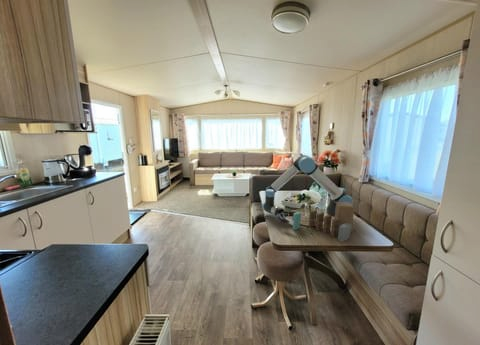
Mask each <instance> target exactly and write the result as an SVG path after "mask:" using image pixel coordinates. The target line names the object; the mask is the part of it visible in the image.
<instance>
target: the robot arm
mask: <svg viewBox="0 0 480 345" xmlns="http://www.w3.org/2000/svg"><path fill="white" fill-rule="evenodd" d="M319 166H320V165H318V163H317V162H315V159H313V158H312V157H310V156H308V155H306V154H305V155H300V156H299V157H297V158H296V159H295V160H294V161H293V162H292V163H291V165H290V167H289V168H288V169H287V170H286V171H285V172H283V173H282V174H281V175H280V176H279V177H278V178H277V179H276V180H275V181H274V182H273V183H271V185H270V186H267V187H266V188H265V190H264V195H265V198H264V200H265V202H263V203H262V206H261V207H262V210H264V211H265V212H266V213H269V214H271V215H273V216H276V218H277V219H278V220H279V221H280V222H281V223H285V224H286V223H287V224H290V225H292V226H293V219H292V220H291V219H289V218H290V217H293V214H294V213H297V212H298V211H292V210H287V211H285V209H284V208H283V207H280V206H277V205H275V195H276V193H277V192H278V191H279V190H280V189H281V188H283V186H284V185H285V184H287V182H289V181H290V180H291V179H292V178H293V177H294V176H295V175H297V174H298V173H300V172H303V174H305V175H306V176H307V177H311V178H312V179H313V180H314V181H315V182H316V183H317V184H318V185H319V186H320V187H321V188H322V189H323V190H324V191H325V192H326V193H327V194H328V195H329V202H328V205H327V207H326V211H325V213H327V214H328V215H332V217H333V216H334V217H335V209H336V202H348V203H351V204H352V205H353V206H354V199H353V197H352V196H351V195H349V193H347V190H346V189H345V188H344V187H339V186H337V185H336V184H335V183H334V182H333V181H332V180H331V179H330V178H329V177H328V176H327V175H326V174H325V173H324V172H323V171H322V170H321V169H320V167H319ZM287 217H289V218H287ZM300 220H302V221H306V216H305V215H302V214H301V218H300Z"/></svg>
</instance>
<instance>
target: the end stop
mask: <svg viewBox="0 0 480 345" xmlns="http://www.w3.org/2000/svg"><path fill="white" fill-rule="evenodd" d="M350 228H351V224H349V223H345V224H343V225H341V226H339V232H338V235H337V241H339V242H345V241H347V240H348V239H349V238H350V235H351V233H350Z"/></svg>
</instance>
